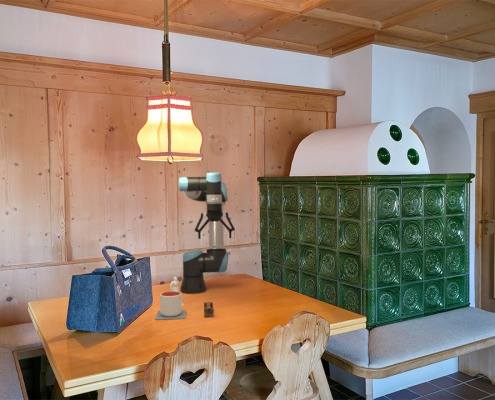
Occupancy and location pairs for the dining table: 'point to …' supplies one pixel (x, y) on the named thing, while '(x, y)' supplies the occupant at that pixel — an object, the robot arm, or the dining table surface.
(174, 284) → the figurine
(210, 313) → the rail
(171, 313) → the cup
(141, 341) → the dining table surface
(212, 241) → the robot arm
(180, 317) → the pad
